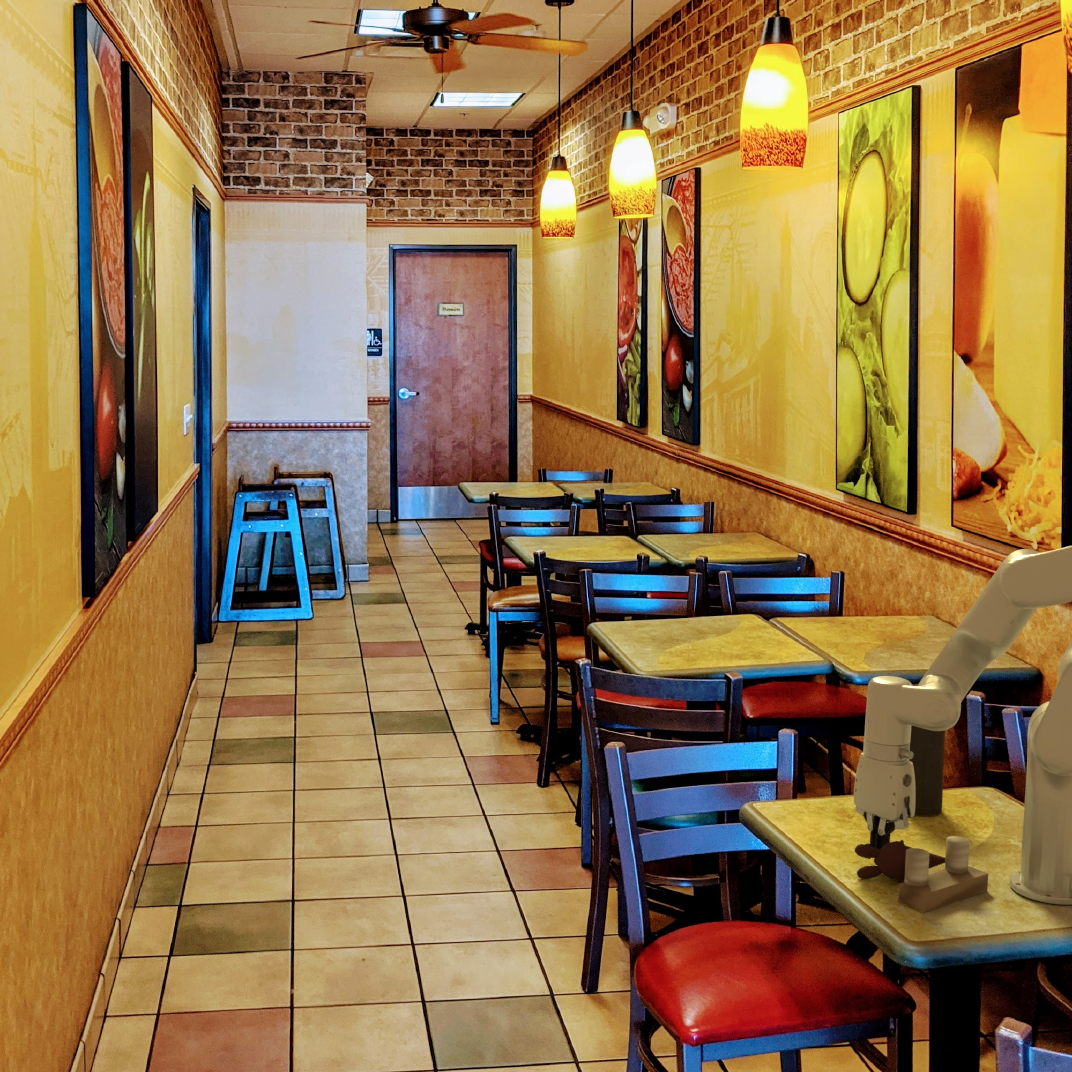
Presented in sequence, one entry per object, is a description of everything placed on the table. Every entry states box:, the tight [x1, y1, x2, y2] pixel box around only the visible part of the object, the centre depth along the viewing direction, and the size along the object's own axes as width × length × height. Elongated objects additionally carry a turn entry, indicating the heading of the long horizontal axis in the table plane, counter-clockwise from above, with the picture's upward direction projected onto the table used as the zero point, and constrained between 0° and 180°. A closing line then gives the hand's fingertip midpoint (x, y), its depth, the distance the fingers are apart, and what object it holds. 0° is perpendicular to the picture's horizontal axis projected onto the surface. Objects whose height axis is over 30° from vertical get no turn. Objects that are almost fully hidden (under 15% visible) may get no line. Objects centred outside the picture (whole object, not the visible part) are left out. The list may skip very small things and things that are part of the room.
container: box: [909, 725, 946, 817], centre depth 252 cm, size 9×9×20 cm
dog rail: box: [897, 835, 989, 914], centre depth 211 cm, size 6×16×8 cm, turn 124°
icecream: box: [854, 839, 945, 882], centre depth 217 cm, size 7×7×15 cm
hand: (878, 853), depth 222 cm, fingers closed
